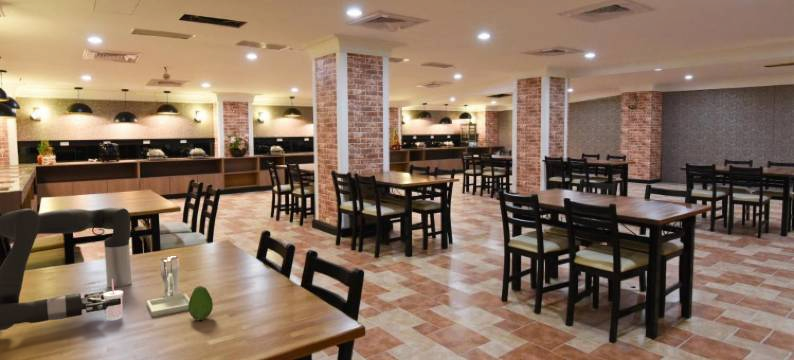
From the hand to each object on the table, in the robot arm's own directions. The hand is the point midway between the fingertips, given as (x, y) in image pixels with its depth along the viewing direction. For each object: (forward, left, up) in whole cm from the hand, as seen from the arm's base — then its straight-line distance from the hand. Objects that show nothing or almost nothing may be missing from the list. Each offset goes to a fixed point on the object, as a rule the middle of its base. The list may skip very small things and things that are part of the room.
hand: (119, 297), depth 175 cm
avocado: (+19, +23, -7) cm, 31 cm away
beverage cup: (0, -2, -7) cm, 7 cm away
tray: (0, +16, -7) cm, 18 cm away
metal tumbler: (-15, +19, -7) cm, 25 cm away
